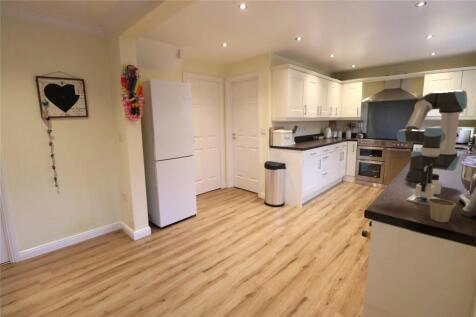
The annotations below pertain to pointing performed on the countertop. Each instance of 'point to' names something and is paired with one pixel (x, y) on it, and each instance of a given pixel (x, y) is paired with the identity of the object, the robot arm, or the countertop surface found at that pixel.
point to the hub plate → (419, 199)
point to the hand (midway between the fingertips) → (424, 195)
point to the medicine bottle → (436, 183)
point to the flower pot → (440, 209)
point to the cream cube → (428, 194)
